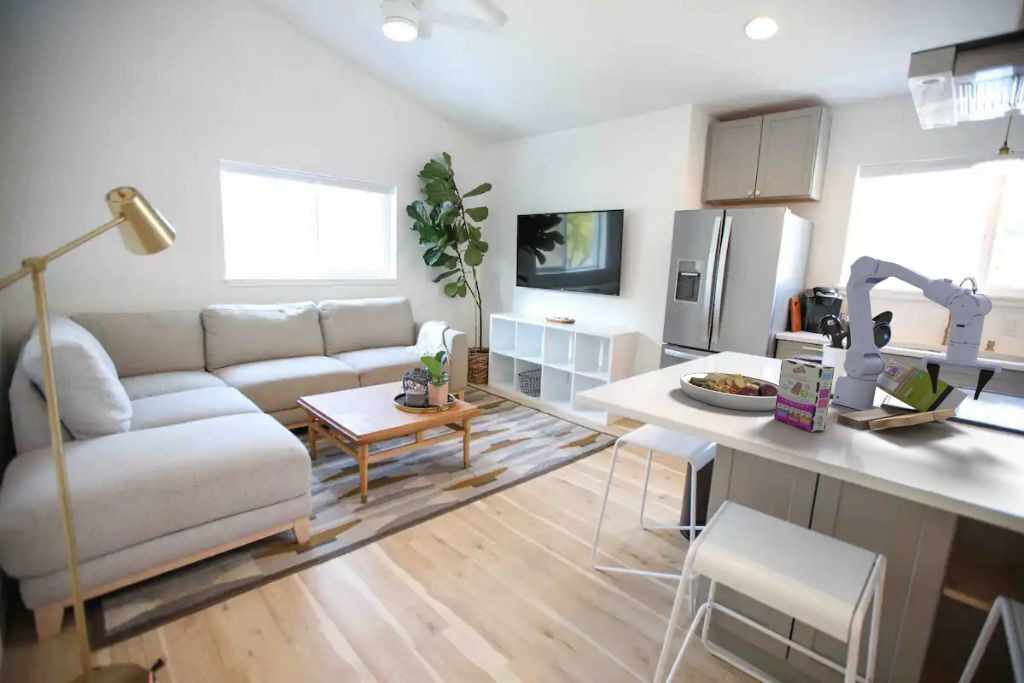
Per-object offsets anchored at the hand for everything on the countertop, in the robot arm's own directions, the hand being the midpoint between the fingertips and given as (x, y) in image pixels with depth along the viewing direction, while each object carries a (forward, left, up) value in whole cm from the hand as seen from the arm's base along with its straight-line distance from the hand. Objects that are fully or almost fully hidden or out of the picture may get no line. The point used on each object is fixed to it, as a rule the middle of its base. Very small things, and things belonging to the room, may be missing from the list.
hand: (954, 396), depth 121 cm
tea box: (-8, +15, -5) cm, 18 cm away
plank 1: (-4, -14, -7) cm, 16 cm away
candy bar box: (-17, -33, -10) cm, 39 cm away
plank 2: (-4, -3, -7) cm, 9 cm away
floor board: (-12, -8, -10) cm, 18 cm away
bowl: (-41, -29, -10) cm, 52 cm away
